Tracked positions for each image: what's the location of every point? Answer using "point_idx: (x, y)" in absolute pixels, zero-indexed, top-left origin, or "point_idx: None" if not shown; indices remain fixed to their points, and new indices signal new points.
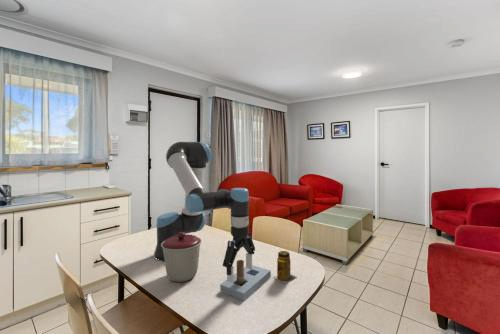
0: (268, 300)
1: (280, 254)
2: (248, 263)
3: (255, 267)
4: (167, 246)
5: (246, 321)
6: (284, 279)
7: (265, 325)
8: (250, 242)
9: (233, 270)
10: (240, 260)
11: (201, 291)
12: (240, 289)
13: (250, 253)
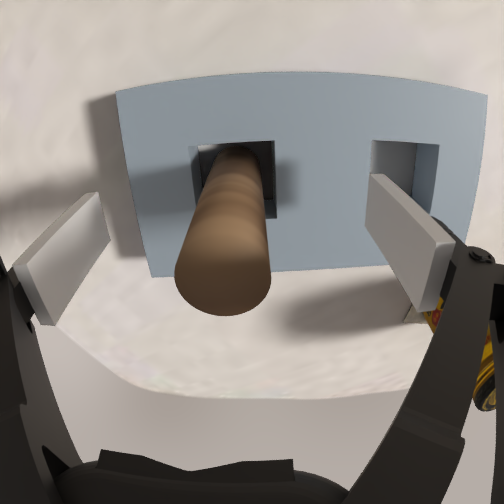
0: (242, 329)
1: (488, 394)
2: (383, 221)
3: (467, 159)
4: None
5: (89, 325)
6: (424, 315)
7: (126, 369)
8: (502, 434)
9: (71, 298)
10: (249, 265)
11: (69, 13)
12: (165, 240)
13: (443, 298)
